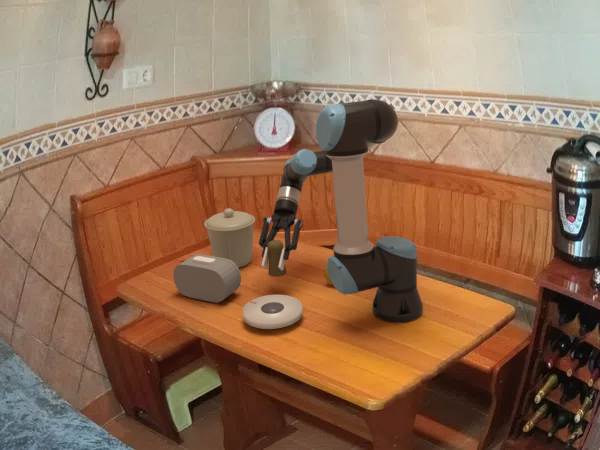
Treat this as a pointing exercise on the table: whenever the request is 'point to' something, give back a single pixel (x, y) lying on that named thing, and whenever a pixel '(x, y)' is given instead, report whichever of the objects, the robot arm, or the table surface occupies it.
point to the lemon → (327, 276)
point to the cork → (275, 258)
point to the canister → (231, 235)
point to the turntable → (272, 311)
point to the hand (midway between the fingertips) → (272, 267)
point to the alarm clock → (207, 277)
